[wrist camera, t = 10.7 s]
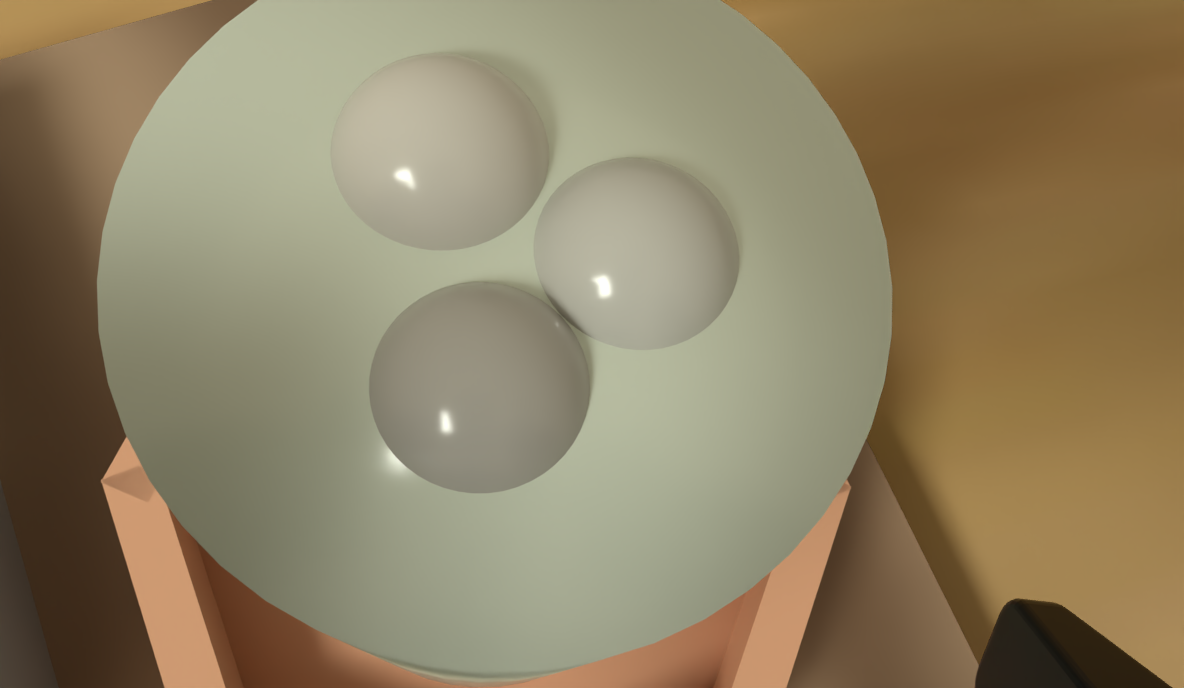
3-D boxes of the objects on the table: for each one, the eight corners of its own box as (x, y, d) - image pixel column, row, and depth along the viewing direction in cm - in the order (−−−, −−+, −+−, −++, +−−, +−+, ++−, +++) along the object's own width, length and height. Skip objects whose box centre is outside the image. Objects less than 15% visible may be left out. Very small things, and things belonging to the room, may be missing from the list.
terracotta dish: (284, 970, 17) (260, 1005, 15) (85, 336, 19) (43, 296, 18) (896, 677, 19) (943, 675, 17) (643, 147, 22) (660, 95, 20)
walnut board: (-928, 1723, 14) (-1031, 1799, 13) (-985, 375, 18) (-1063, 357, 17) (995, 749, 20) (1021, 752, 19) (590, -77, 25) (594, -107, 24)
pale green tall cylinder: (252, 622, 18) (-102, 499, 7) (381, 295, 20) (273, -215, 9) (603, 735, 18) (822, 794, 7) (698, 397, 20) (986, 19, 9)
